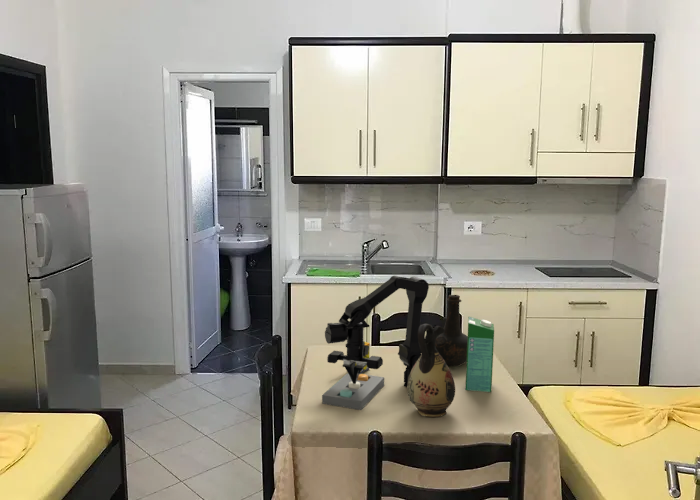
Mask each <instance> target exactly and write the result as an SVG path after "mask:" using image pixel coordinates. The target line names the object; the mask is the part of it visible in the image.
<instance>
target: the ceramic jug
mask: <svg viewBox="0 0 700 500" xmlns="http://www.w3.org/2000/svg"><path fill="white" fill-rule="evenodd" d="M443 332H444V327H443V326H440V325H436V326H435V327H433V326H432V324H429V323H423V324H422V323H421V324H420V326H419V329H418V341H419V345H420V349H421V354H422V355H421V356H420V357H419V359H418V360H417V362H416V363H415V365H414V366H413V368H412V370H411V373H410V375H409V379H408V385H407V386H406V387H407V388H406V389H407V390H406V391H407V396H408V398H409V400H410V401H411V403H412V404H413V406H414V407H416V410H417V412H418V413H419V415H421V416H422V417H430V418H433V417H434V418H435V417H437V418H438V417H442V416H445V415H447V410H448V408H449V407H450V406H451V404H452V403H453V401H454V398H455V397H456V385H455V380H454V376H453V373H452V371H451V370H450V366H448V365H447V364H446V362H445V361H444V359H443V358H442V357H441V355H440V354H439V353H438V350H437V349H436V346H435V343H436V339H437V337H438V336H439V335H440V334H442V333H443Z"/></svg>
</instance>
